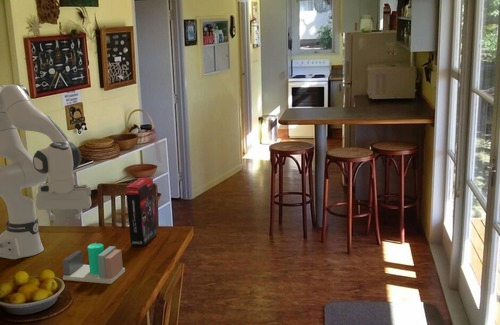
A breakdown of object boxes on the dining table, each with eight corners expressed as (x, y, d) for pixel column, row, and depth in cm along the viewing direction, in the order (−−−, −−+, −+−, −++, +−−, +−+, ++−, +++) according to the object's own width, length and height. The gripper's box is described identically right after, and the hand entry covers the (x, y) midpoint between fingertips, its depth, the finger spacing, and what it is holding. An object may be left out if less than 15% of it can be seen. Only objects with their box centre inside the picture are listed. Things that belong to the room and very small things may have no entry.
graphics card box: (144, 247, 260) (140, 187, 254) (129, 247, 262) (124, 186, 256) (157, 234, 277) (154, 177, 271) (143, 234, 278) (139, 177, 272)
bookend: (64, 274, 229) (62, 260, 228) (77, 264, 239) (76, 250, 237) (70, 275, 229) (68, 260, 227) (83, 265, 238) (81, 251, 237)
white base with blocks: (63, 279, 229) (60, 253, 226) (79, 267, 240) (76, 242, 238) (111, 283, 224) (109, 257, 222) (125, 271, 235) (123, 246, 233)
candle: (103, 274, 229) (101, 244, 227) (88, 274, 229) (85, 245, 226) (107, 267, 235) (104, 239, 232) (91, 268, 235) (89, 239, 232)
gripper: (92, 182, 231) (94, 216, 235) (37, 183, 230) (40, 217, 233) (88, 187, 225) (91, 221, 228) (33, 187, 224) (36, 222, 227)
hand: (65, 219), depth 231 cm, fingers open, 8 cm apart
